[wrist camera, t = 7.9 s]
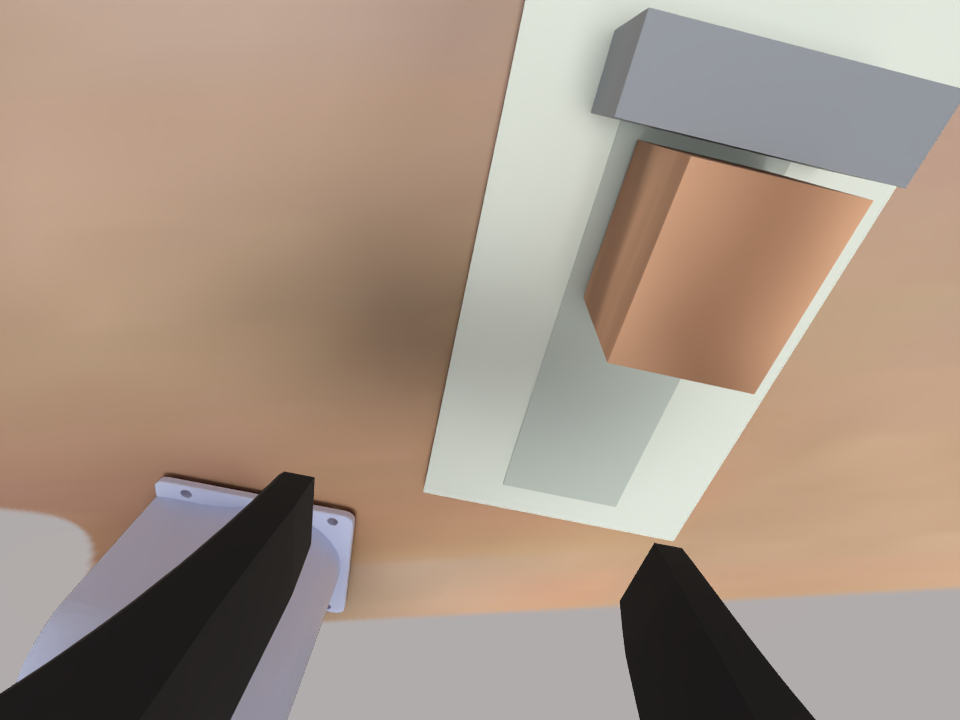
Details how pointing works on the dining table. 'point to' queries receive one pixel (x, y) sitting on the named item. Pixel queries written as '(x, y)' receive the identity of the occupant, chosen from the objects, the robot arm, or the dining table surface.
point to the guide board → (592, 198)
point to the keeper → (712, 265)
